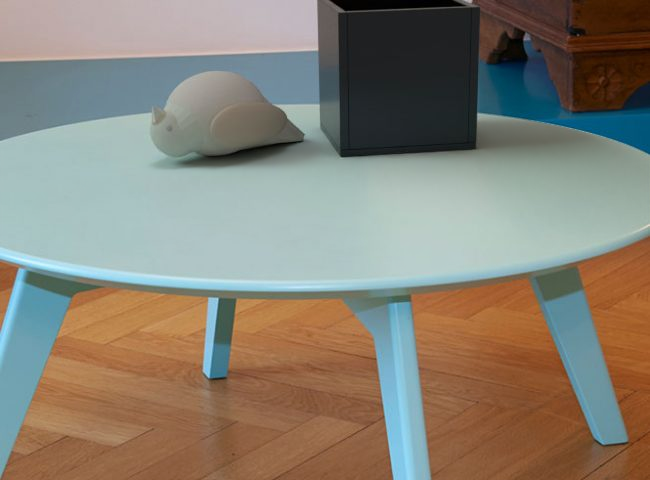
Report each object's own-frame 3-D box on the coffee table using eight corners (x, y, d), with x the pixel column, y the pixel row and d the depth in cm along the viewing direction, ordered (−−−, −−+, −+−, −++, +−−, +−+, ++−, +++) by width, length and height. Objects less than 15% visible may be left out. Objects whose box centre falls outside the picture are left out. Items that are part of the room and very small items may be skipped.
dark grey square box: (442, 120, 115) (444, -8, 110) (476, 149, 104) (480, 6, 99) (320, 127, 114) (316, -3, 109) (340, 156, 102) (338, 12, 97)
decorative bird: (129, 159, 103) (122, 76, 100) (263, 130, 113) (260, 54, 110) (188, 176, 97) (182, 87, 94) (324, 144, 107) (322, 63, 104)
